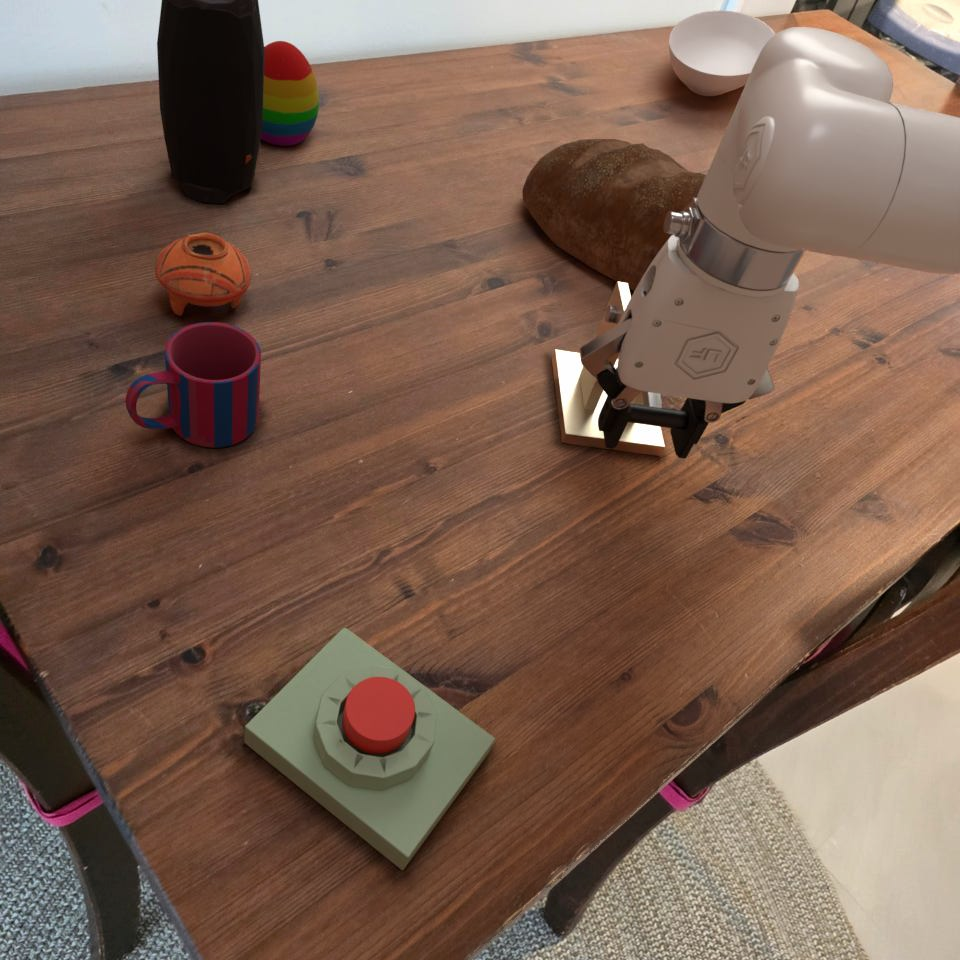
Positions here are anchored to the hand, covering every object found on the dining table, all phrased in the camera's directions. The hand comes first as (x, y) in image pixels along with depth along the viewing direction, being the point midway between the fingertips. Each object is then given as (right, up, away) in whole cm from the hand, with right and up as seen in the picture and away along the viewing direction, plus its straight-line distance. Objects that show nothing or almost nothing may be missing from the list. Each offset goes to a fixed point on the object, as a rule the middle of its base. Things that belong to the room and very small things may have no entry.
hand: (643, 438), depth 69 cm
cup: (-35, +1, -1) cm, 35 cm away
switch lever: (0, +5, +2) cm, 6 cm away
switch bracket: (-2, +3, +11) cm, 12 cm away
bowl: (+22, +58, +67) cm, 91 cm away
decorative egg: (-35, +35, +30) cm, 58 cm away
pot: (-37, +12, +9) cm, 40 cm away
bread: (+4, +21, +29) cm, 36 cm away
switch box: (-20, -20, -15) cm, 32 cm away
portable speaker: (-40, +27, +21) cm, 53 cm away
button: (-19, -17, -18) cm, 31 cm away
